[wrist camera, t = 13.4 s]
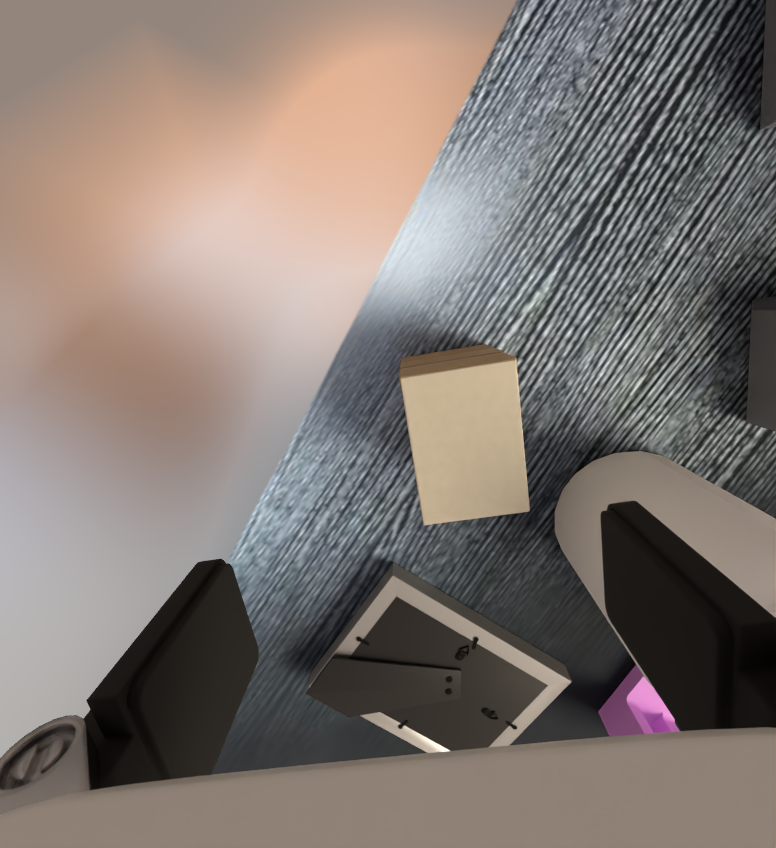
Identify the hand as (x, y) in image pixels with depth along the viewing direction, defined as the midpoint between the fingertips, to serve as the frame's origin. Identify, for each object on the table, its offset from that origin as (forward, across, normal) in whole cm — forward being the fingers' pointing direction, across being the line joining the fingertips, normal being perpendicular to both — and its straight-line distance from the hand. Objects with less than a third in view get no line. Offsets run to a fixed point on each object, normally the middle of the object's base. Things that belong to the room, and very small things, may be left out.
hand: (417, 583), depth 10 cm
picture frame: (+26, +2, +30) cm, 40 cm away
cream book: (+20, -3, +3) cm, 20 cm away
